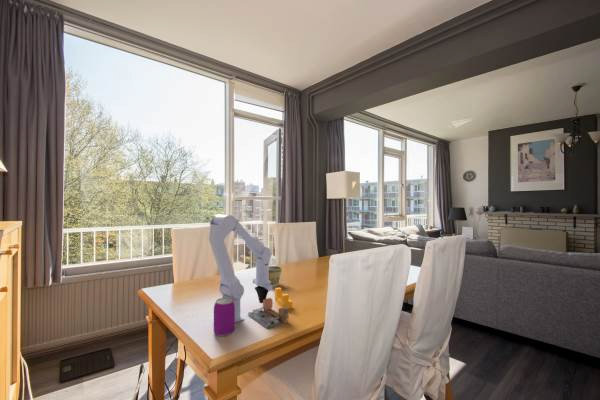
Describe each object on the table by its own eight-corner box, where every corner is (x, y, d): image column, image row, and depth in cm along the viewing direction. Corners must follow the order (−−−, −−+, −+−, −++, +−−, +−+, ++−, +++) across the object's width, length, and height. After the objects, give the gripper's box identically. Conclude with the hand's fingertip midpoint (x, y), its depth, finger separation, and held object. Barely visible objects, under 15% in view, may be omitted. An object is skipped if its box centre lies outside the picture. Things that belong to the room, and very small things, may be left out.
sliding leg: (253, 313, 122) (253, 303, 122) (251, 311, 124) (251, 302, 124) (272, 308, 128) (272, 299, 128) (269, 306, 130) (270, 297, 130)
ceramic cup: (280, 287, 162) (280, 270, 162) (263, 287, 163) (263, 270, 163) (282, 281, 175) (282, 264, 175) (266, 281, 176) (266, 264, 176)
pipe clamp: (292, 308, 133) (292, 294, 133) (283, 309, 131) (283, 295, 131) (283, 299, 144) (283, 287, 144) (275, 301, 142) (275, 288, 142)
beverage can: (235, 327, 113) (235, 296, 113) (233, 336, 105) (234, 303, 105) (215, 328, 112) (215, 297, 112) (212, 337, 104) (212, 304, 104)
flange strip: (267, 328, 112) (267, 324, 112) (248, 315, 124) (248, 311, 124) (280, 324, 115) (280, 320, 115) (260, 312, 128) (260, 308, 128)
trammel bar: (269, 327, 113) (269, 313, 113) (250, 315, 124) (250, 302, 124) (288, 321, 118) (288, 308, 118) (269, 310, 130) (269, 298, 130)
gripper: (278, 274, 128) (278, 305, 128) (262, 268, 140) (261, 296, 140) (264, 277, 124) (264, 309, 124) (248, 270, 135) (248, 299, 135)
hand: (262, 302), depth 132 cm, fingers closed
